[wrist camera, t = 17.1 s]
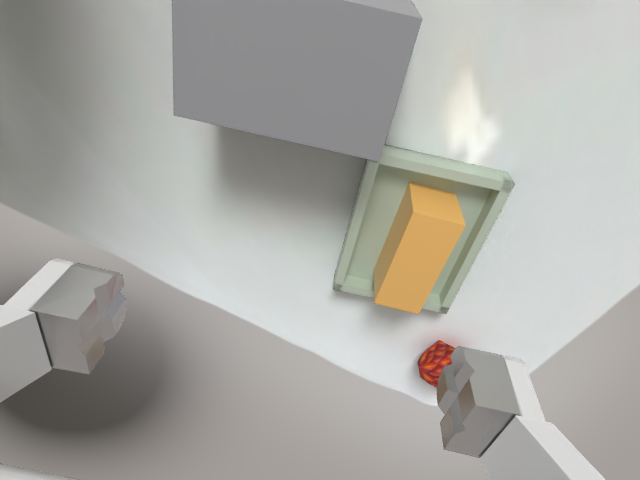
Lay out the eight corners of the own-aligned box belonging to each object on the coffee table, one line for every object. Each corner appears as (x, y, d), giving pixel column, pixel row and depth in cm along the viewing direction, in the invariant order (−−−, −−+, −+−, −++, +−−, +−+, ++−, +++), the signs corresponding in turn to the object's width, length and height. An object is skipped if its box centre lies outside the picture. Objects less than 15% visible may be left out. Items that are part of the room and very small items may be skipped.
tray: (334, 275, 52) (332, 289, 50) (371, 141, 42) (371, 151, 40) (443, 299, 53) (446, 314, 51) (508, 172, 42) (514, 184, 40)
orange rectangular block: (372, 273, 51) (371, 308, 46) (409, 181, 43) (413, 211, 38) (412, 283, 51) (416, 319, 46) (455, 193, 43) (465, 225, 39)
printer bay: (214, 80, 40) (173, 115, 32) (219, -45, 34) (171, -41, 26) (378, 117, 40) (379, 161, 32) (411, 0, 35) (422, 18, 26)
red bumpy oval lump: (444, 353, 62) (398, 357, 59) (471, 330, 57) (423, 333, 54) (463, 396, 58) (415, 403, 55) (493, 375, 53) (443, 381, 50)
